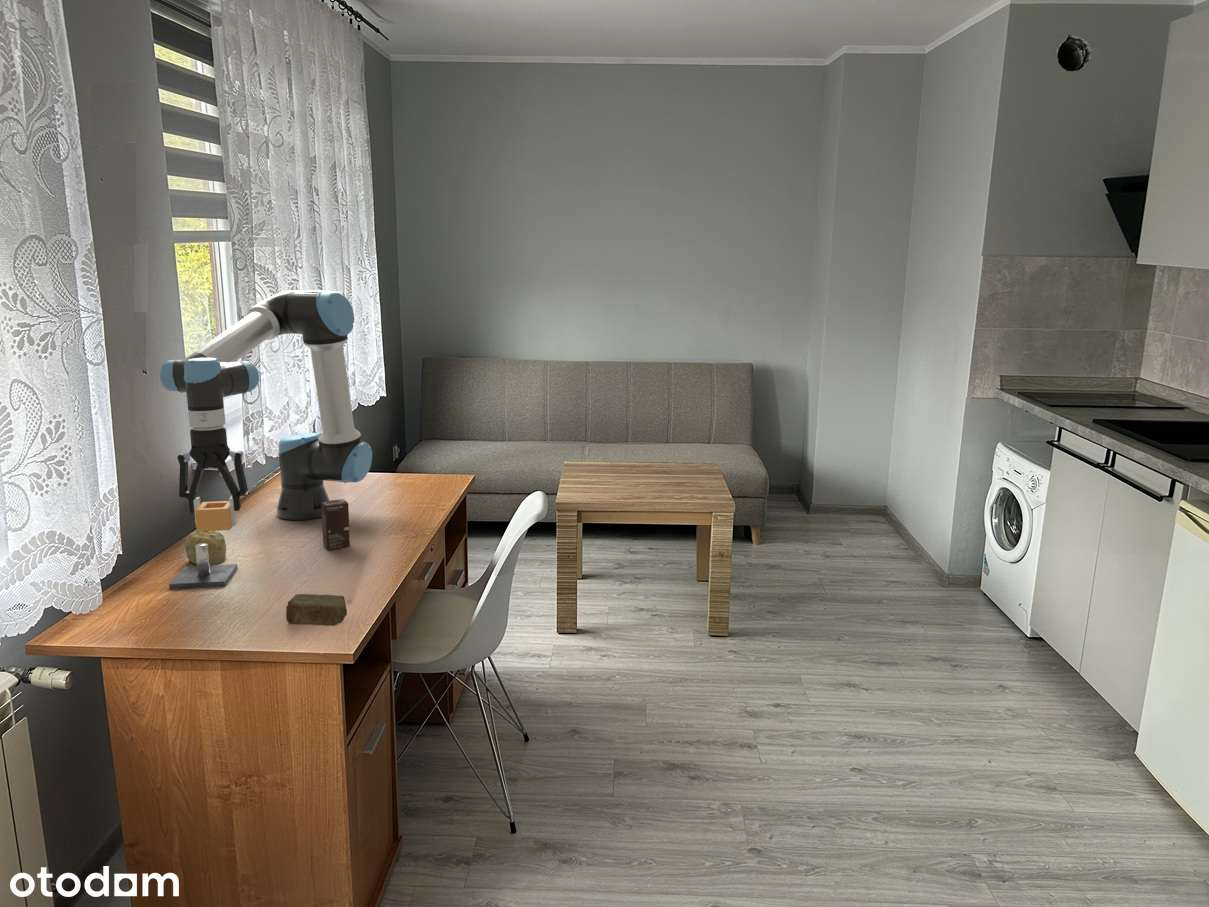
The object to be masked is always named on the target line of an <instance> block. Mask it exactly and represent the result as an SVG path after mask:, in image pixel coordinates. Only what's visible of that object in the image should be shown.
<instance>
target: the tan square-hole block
mask: <svg viewBox="0 0 1209 907" xmlns="http://www.w3.org/2000/svg"><path fill="white" fill-rule="evenodd" d="M200 504H201V505H200V506H199V507H198V508H197V509H196V510H195V513H194V515H195V514H196V522H195V525H196V524H197V528H196V531H197V532H198V531H216V532H218V531H231V529H232V528H233V526H232V522H231V511H230V503H229V500H226V501H225V500H223V501H222V500H220V501H219V500H217V501H203V502H200Z"/></svg>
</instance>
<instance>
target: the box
mask: <svg viewBox="0 0 1209 907" xmlns="http://www.w3.org/2000/svg"><path fill="white" fill-rule="evenodd" d="M321 510H322V517H321V523H322V524H321V526H322V546H323V548H324V549H326V550H327V551H330V550H336V549H343V548H349V547H351V543H350V542H351V540H350V538H351V537H350V536H351V535H350V512H349V510H350V509H349V502H348V501H346V499H344V498H341V499H334V500H330V501H326V502H321Z"/></svg>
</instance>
